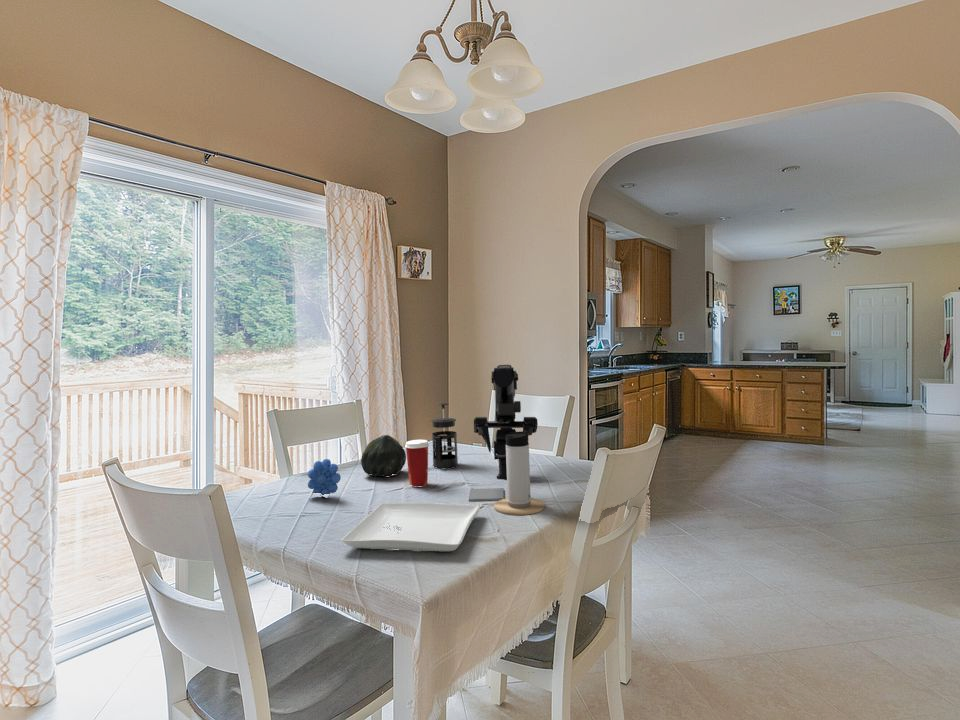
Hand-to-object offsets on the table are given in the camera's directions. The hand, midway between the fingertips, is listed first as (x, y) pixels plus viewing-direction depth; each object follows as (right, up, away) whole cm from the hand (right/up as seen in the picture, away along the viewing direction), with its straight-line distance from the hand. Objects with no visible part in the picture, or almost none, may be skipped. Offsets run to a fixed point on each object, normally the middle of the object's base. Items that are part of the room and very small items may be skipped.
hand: (506, 451), depth 154 cm
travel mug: (+3, -13, -8) cm, 16 cm away
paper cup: (-27, -14, +17) cm, 35 cm away
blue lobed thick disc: (-54, -15, +7) cm, 56 cm away
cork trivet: (+3, -14, -8) cm, 16 cm away
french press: (-20, -12, +40) cm, 46 cm away
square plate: (-23, -16, -25) cm, 37 cm away
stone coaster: (-6, -13, +3) cm, 15 cm away
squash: (-40, -14, +31) cm, 53 cm away
